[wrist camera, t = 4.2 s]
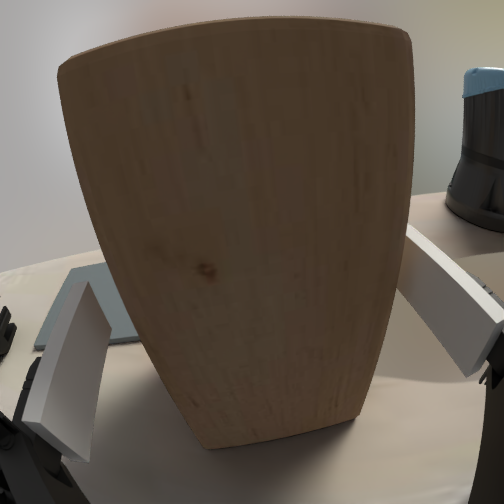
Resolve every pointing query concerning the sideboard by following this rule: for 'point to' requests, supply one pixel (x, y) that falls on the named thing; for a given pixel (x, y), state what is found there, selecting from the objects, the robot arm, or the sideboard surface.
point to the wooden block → (251, 208)
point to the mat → (106, 298)
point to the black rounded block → (6, 331)
